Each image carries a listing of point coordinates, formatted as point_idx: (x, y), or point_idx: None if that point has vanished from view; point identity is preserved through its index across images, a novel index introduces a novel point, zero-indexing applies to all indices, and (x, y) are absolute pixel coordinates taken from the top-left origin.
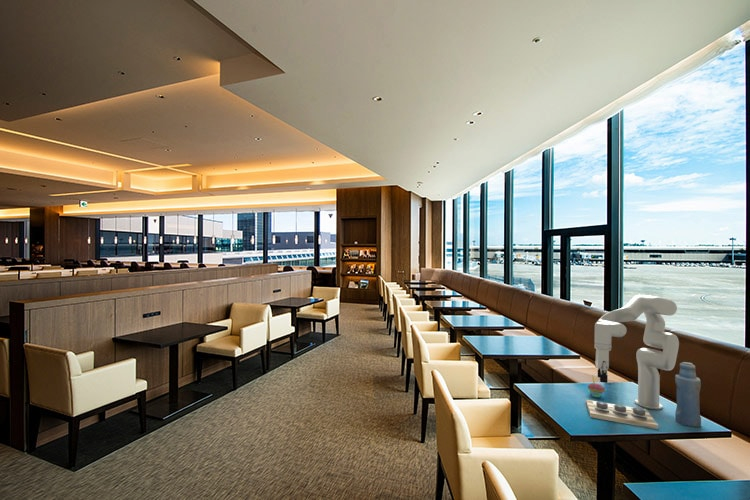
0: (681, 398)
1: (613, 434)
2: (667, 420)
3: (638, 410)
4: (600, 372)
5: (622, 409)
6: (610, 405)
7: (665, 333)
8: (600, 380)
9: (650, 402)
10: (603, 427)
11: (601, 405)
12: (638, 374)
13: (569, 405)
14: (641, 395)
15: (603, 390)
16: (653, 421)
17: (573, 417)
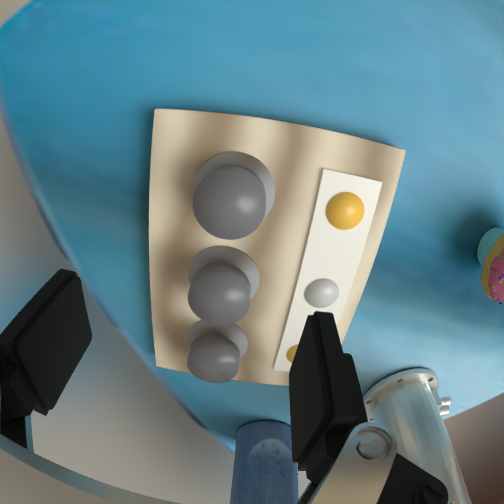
0: (243, 494)
1: (25, 179)
2: (267, 405)
3: (196, 360)
4: (308, 404)
5: (188, 298)
6: (330, 266)
7: None
8: (53, 280)
9: (376, 412)
10: (64, 152)
11: (195, 192)
12: (448, 472)
13: (320, 28)
14: (405, 410)
15: (487, 292)
16: (187, 367)
17: (125, 24)
